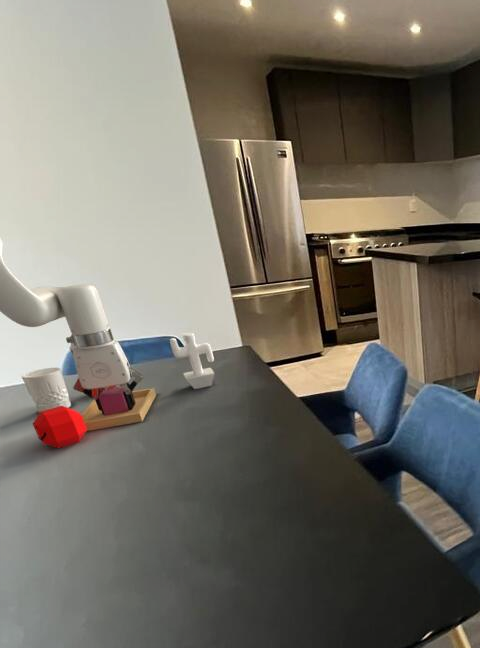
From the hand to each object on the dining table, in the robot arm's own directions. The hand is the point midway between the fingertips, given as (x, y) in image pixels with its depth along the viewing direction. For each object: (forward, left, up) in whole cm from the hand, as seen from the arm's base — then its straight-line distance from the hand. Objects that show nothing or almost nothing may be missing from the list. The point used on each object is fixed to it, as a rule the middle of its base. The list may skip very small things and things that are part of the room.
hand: (118, 409), depth 122 cm
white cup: (-17, +12, -1) cm, 21 cm away
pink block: (0, 0, 0) cm, 0 cm away
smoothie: (-8, +21, -1) cm, 23 cm away
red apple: (-7, -15, -1) cm, 17 cm away
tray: (0, 0, -1) cm, 1 cm away
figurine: (+18, +12, -1) cm, 22 cm away
